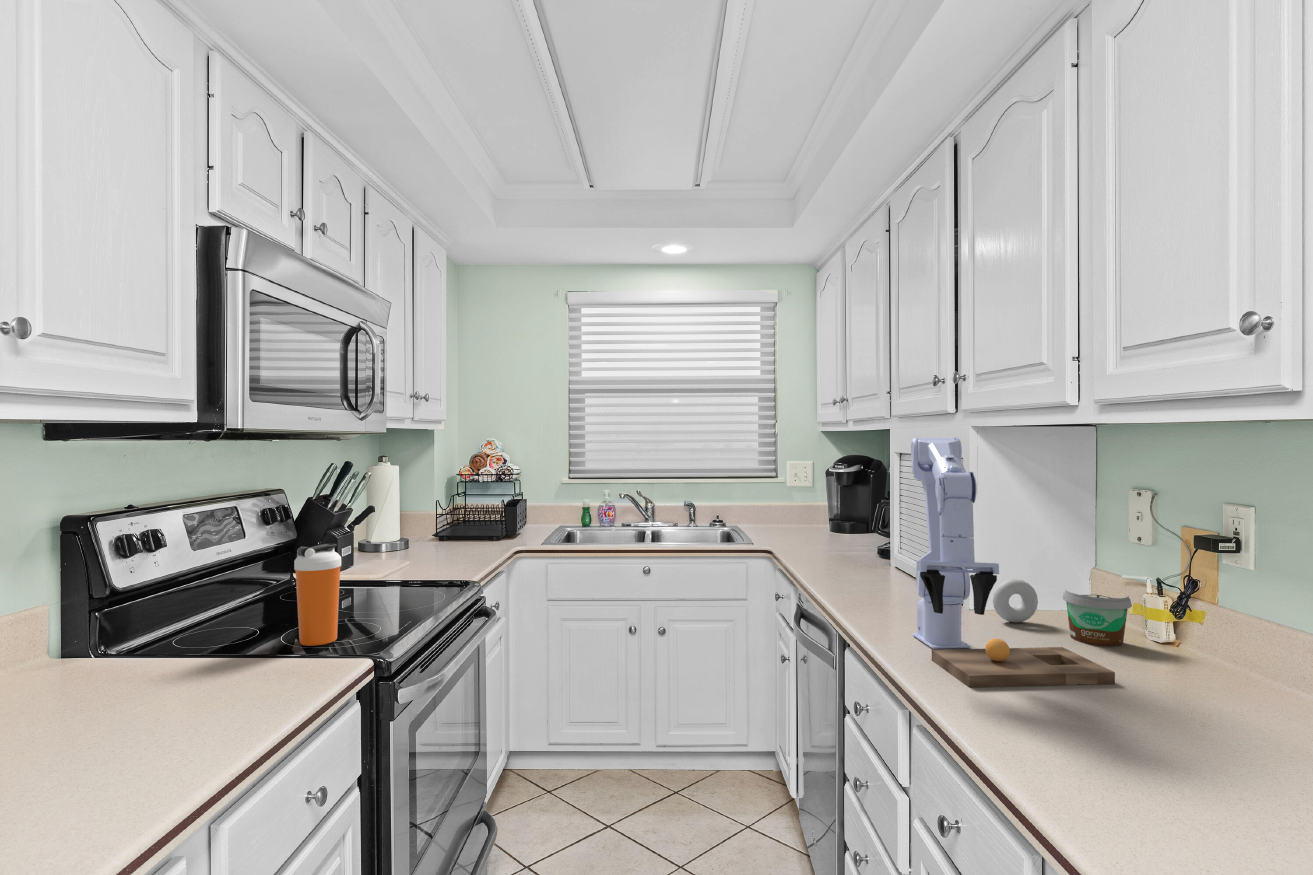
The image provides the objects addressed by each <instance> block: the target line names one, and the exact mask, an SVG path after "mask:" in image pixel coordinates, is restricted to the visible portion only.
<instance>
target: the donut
mask: <svg viewBox="0 0 1313 875" xmlns="http://www.w3.org/2000/svg"><path fill="white" fill-rule="evenodd" d="M1014 595H1018V596H1019V597H1020V598H1021V600H1020V603H1019V605H1018V606H1017V607H1012V606H1011V605H1010V598H1011V597H1012V596H1014ZM1038 603H1039V599H1038V594H1037V591H1036V589H1035V588H1034V587H1032V585H1031V584H1030V583H1028V582H1026V581H1025V580H1023V579H1016V578H1014V579H1013V578H1012V579H1007V580H1005V581H1003V582H1001V583H1000V584H999V585H998V586H997V587H996V589H995V590H994V592H993V597H992V605H993V606H992V607H993V609H994V610H995V612H996V614H997V615H998V616H999V617H1000V618H1001V619H1003V620H1005V622H1006V621H1007V622H1010V623H1015V624H1016V623H1023V622H1025V621H1027V620H1029V619H1031V617H1032V616H1034V615H1035V613H1036V611H1037V609H1038Z"/></svg>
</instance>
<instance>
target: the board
mask: <svg viewBox="0 0 1313 875" xmlns="http://www.w3.org/2000/svg"><path fill="white" fill-rule="evenodd" d="M1009 649H1010V654H1009V657H1008V658H1007V659H1006V660H1004V661H994V660H992V659H991V658H989V657H988V655H987V653H986V650H985V648H946V649H931V661H932V662H934V663H935V664H936V665H938V666H939V667H940V668H942V669H943V670H944V671H946V672H948V673H949V674H950V675H951V676H953V677H954V678H956V679H957V680H958V681H960V682H961V683H963V684H964V685H966V686H967V687H968V688H990V687H991V688H992V687H993V688H995V687H998V688H999V687H1031V686H1032V687H1033V686H1034V687H1035V686H1036V687H1038V686H1041V687H1042V686H1043V687H1044V686H1076V685H1075V684H1087V685H1114V684H1116V682H1115V681H1116V672H1115V671H1114V670H1111V669H1109V668H1107V667H1105V666H1103V665H1101V664H1098V663H1097V662H1095V661H1092V660H1090V659H1088V658H1086V657H1083V656H1082V655H1080V654H1078V653H1075V652H1073V651H1071V650H1070V649H1068V648H1065V647H1063V646H1052V647H1051V646H1047V647H1046V646H1045V647H1044V646H1042V647H1041V646H1040V647H1009Z"/></svg>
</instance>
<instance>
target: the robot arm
mask: <svg viewBox="0 0 1313 875" xmlns="http://www.w3.org/2000/svg"><path fill="white" fill-rule="evenodd" d="M962 450H963V449H962V441H961V440H960V439H959V438H958V436H957V437H956V436H954V437H917V436H916V437H914V438H912V440H911V444H910V457H911V458H910V459H911V471H912V473H913V478H915V479H916V480H918V481H919V482H921V485H922V488H923V493H924V500H925V516H926V527H927V530H926V531H927V542H928V552H927V553H926V554H924V555H923V556H922V557H920V558H919V559H918V560H916V565H915V568H916V569H915V573H916V574H915V587H916V593H917V594H916V595H918V596H919V597H920V598H921V599H919V601H918V603H917V606H916V621H917V622H916V632H914V633H912V636H913V637H914V638H916V639H918V640H919V641H921V642H922V643H923V644H925V645H926V646H928V647H929V648H931V649H932V650H942V649H971V645H970V644H968V643H967V642H965V641H963V640H962V604H964V603H965V602H964V601H966V600H967V599H968V598H969V597H970V595H971V594H970V593H971V587H972V593H973V611H974V612H973V613H974V614H976V615H981V616H985V610H986V607H987V602H988V600H989V596H990V594H991V591H992V589H993V588H994V586H995V584H996V582H997V581H998V580H997V579H998V575H999V574H1000V564H999V562H997V563H996V562H979V561H978V562H976V560H975V532H974V530H975V526H974V524H975V523H974V504H975V502H976V499H977V493H978V492H977V491H978V490H977V489H978V486H977V480H976V475H975V473H974V471H966V469H965V467H964V465H963V462H962V457H963V455H962V454H963V452H962Z"/></svg>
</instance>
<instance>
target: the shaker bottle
mask: <svg viewBox="0 0 1313 875" xmlns="http://www.w3.org/2000/svg"><path fill="white" fill-rule="evenodd" d="M337 546H338V545H337V543H324V544H319V545H318V544H317V545H313V546H310V547H308V546H300V547H299V548H298V549H297V551H296V553H297V554H296V558H295V559H294V560H293V562H294V564H293V565H294V566H293V567H294V568H293V569H294V571H295V584H296V600H297V601H296V602H297V603H296V604H297V618H298V620H297V621H298V635H299V636H298V638H299V639H298V640H299V644H300V645H302V646H307V647H310V646H311V647H312V646H313V647H314V646H323V645H328V644H330V643H333V642H335V641H337V639H338V626H339V625H338V623H339V622H338V621H339V604H340V602H339V600H340V581H341V580H340V579H341V567H342V557H341V555H340V554H339V553H338V552H336V551H335V548H336V547H337Z"/></svg>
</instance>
